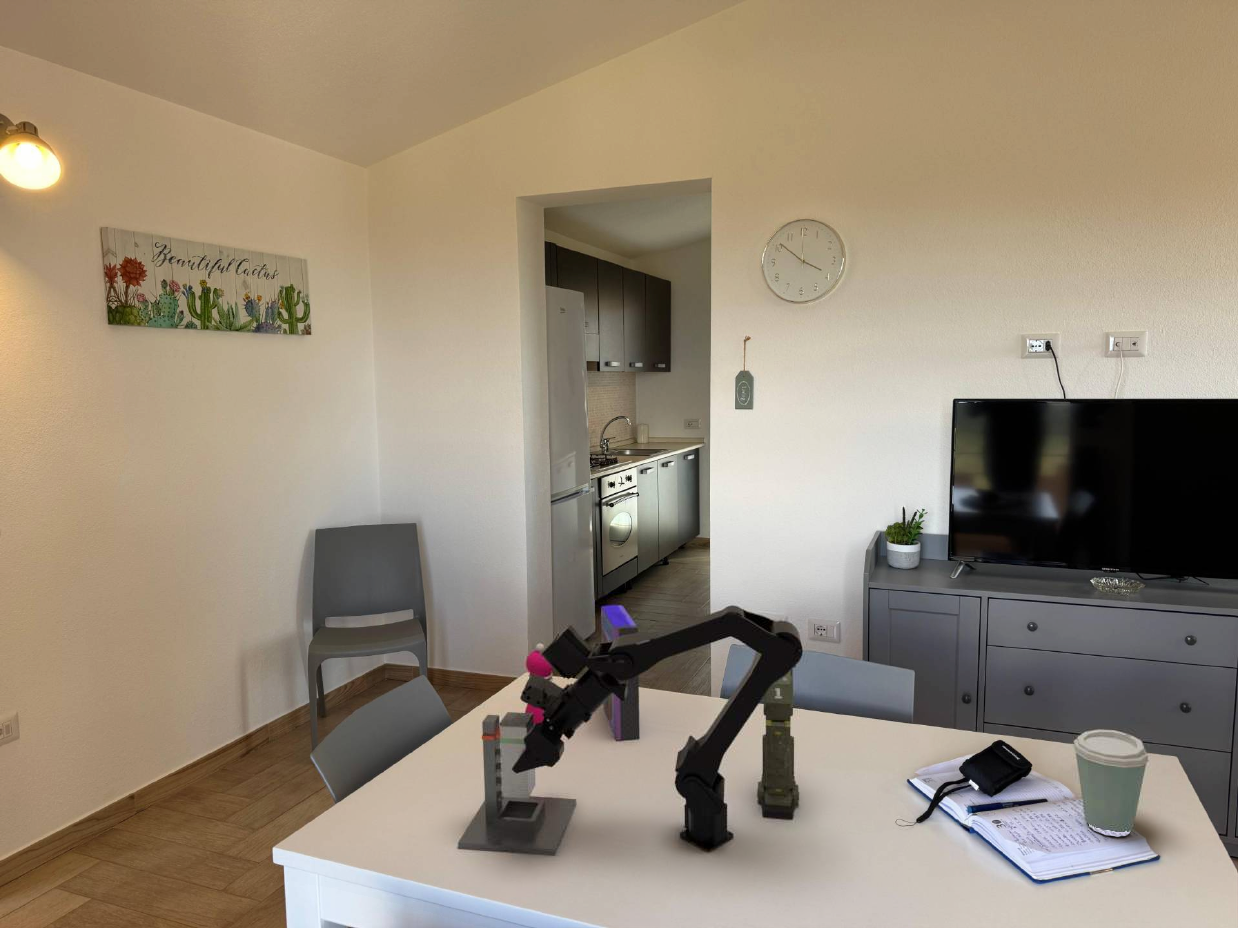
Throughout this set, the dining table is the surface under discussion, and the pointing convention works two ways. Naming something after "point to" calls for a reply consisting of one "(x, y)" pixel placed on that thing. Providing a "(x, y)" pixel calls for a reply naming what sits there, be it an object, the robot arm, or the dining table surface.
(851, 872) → the dining table surface
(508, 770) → the jack column
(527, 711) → the pepper mill
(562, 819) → the grey square stand
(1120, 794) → the disposable coffee cup
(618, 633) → the cereal box
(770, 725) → the mechanical leg
